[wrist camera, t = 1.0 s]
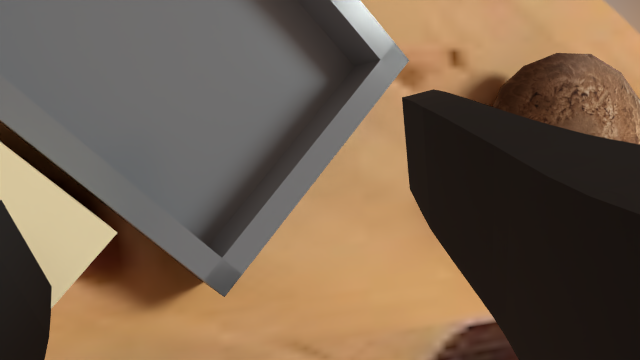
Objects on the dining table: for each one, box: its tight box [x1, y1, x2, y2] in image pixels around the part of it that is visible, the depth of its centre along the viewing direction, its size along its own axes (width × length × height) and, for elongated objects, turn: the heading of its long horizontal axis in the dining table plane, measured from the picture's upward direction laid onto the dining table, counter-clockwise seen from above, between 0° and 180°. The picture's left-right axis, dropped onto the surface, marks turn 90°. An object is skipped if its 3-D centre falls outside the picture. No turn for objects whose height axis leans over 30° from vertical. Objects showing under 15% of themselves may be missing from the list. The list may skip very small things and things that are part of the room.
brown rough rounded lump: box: [493, 53, 640, 144], centre depth 28 cm, size 8×8×6 cm
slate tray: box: [0, 0, 409, 297], centre depth 20 cm, size 12×14×2 cm
